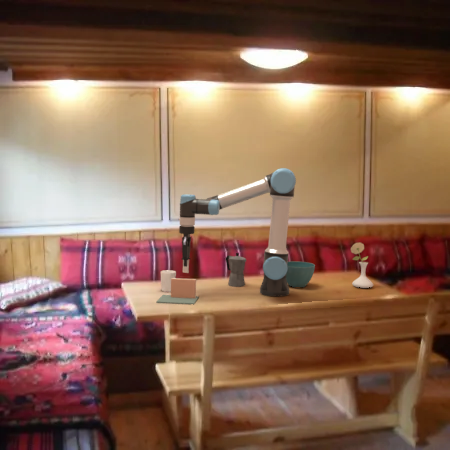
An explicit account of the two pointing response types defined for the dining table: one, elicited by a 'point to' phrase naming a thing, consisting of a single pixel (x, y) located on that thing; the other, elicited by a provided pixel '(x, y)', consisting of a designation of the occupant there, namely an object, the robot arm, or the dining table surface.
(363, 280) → the flower in vase
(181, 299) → the mat
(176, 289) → the plaque
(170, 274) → the white cup
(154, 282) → the dining table surface
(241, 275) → the coffeepot
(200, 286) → the dining table surface
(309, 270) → the teal bowl
